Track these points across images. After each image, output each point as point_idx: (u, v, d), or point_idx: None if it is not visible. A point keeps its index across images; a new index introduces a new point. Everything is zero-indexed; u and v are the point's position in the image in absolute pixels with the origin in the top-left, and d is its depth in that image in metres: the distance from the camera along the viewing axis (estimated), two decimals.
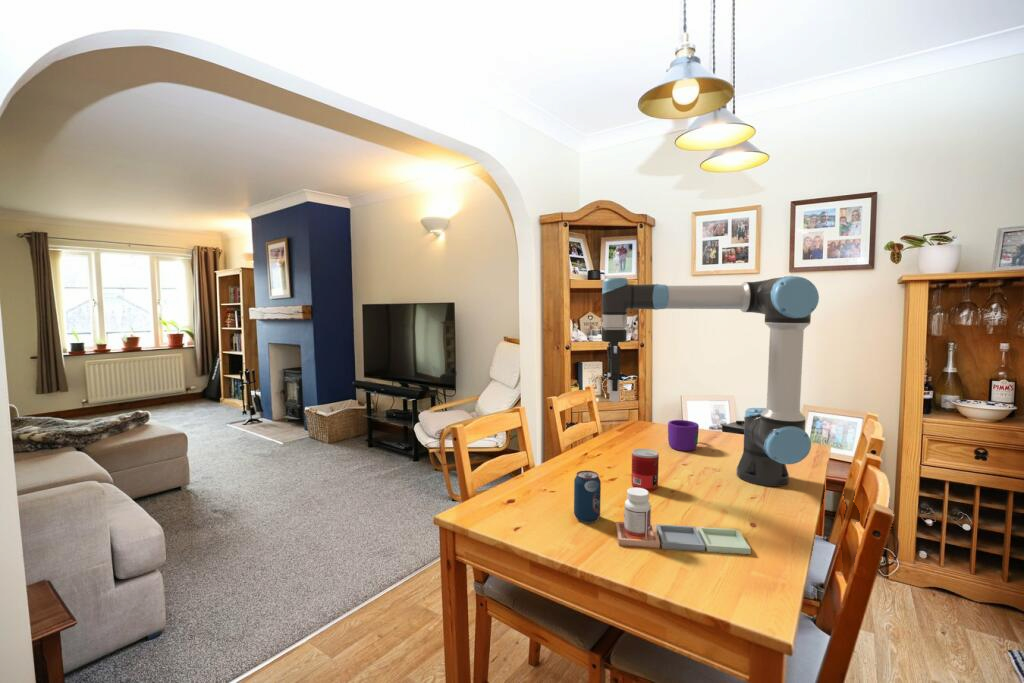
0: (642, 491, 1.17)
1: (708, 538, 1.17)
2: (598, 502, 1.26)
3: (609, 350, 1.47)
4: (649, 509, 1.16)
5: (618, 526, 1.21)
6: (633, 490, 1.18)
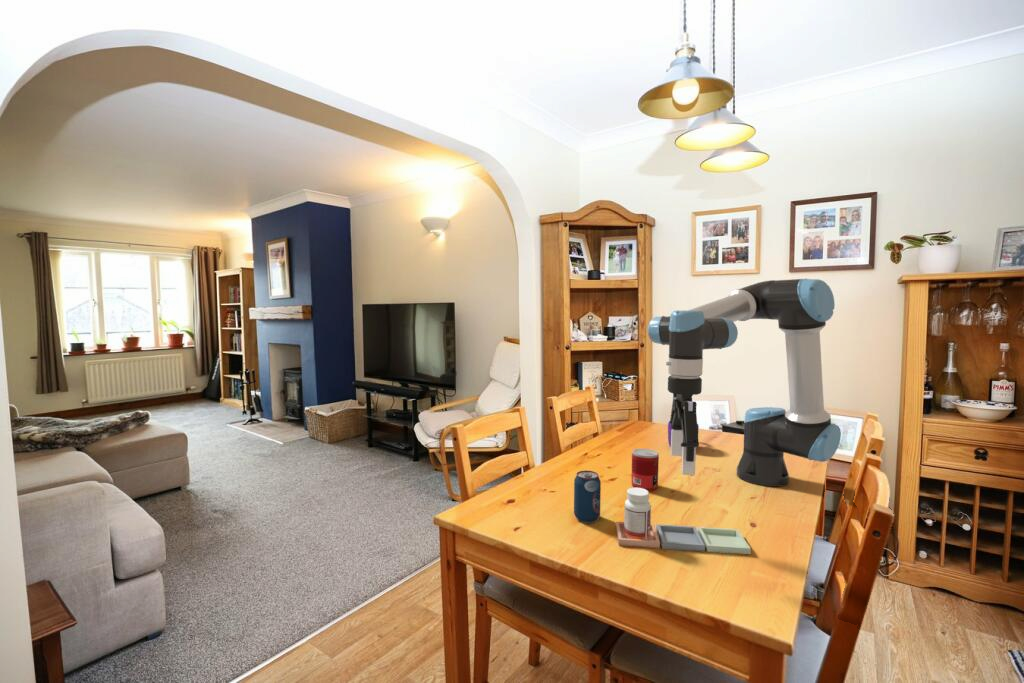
0: (642, 491, 1.17)
1: (708, 538, 1.17)
2: (598, 502, 1.26)
3: (679, 405, 1.12)
4: (649, 509, 1.16)
5: (618, 526, 1.21)
6: (633, 490, 1.18)
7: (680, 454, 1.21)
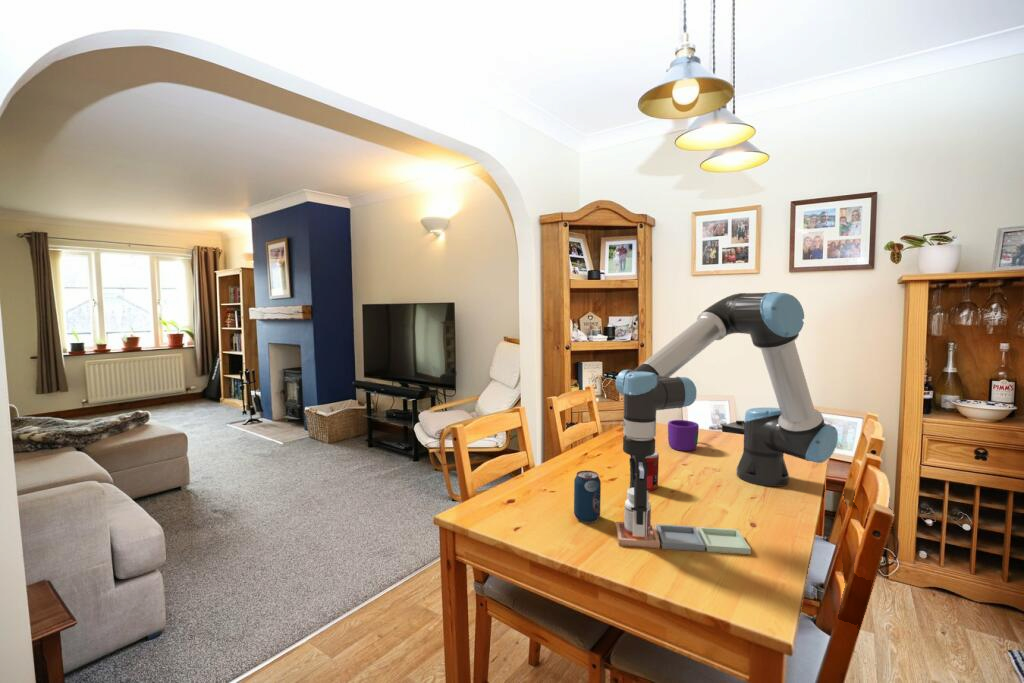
0: None
1: (708, 538, 1.17)
2: (598, 502, 1.26)
3: (633, 466, 1.15)
4: (649, 509, 1.16)
5: (618, 526, 1.21)
6: (633, 490, 1.18)
7: None
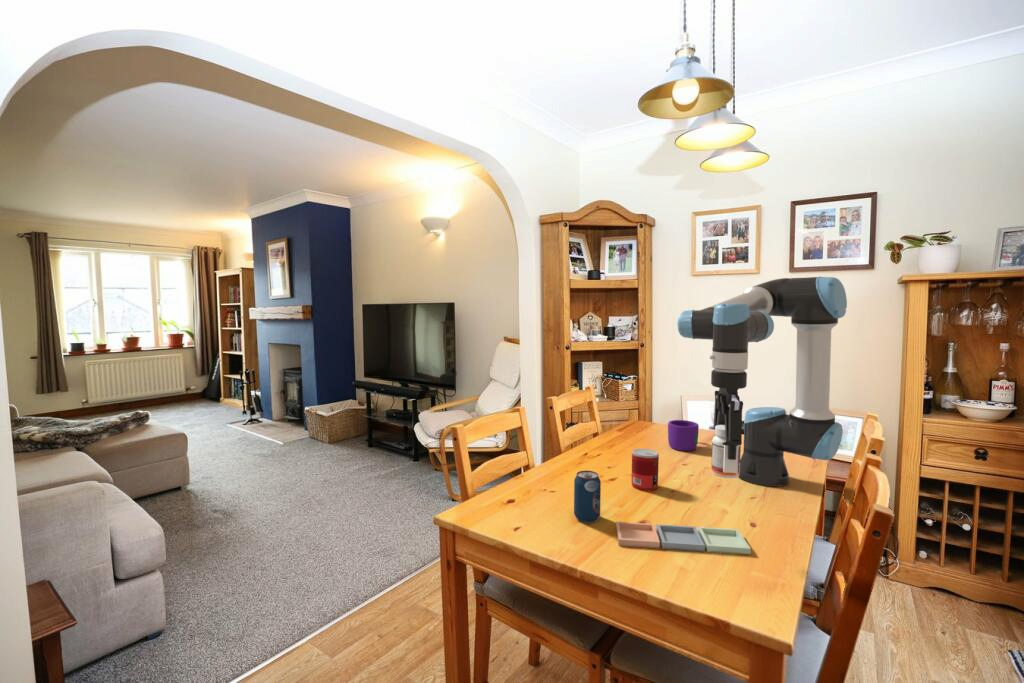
0: None
1: (708, 538, 1.17)
2: (598, 502, 1.26)
3: (724, 400, 1.11)
4: (740, 445, 1.11)
5: (618, 526, 1.21)
6: (721, 426, 1.14)
7: None
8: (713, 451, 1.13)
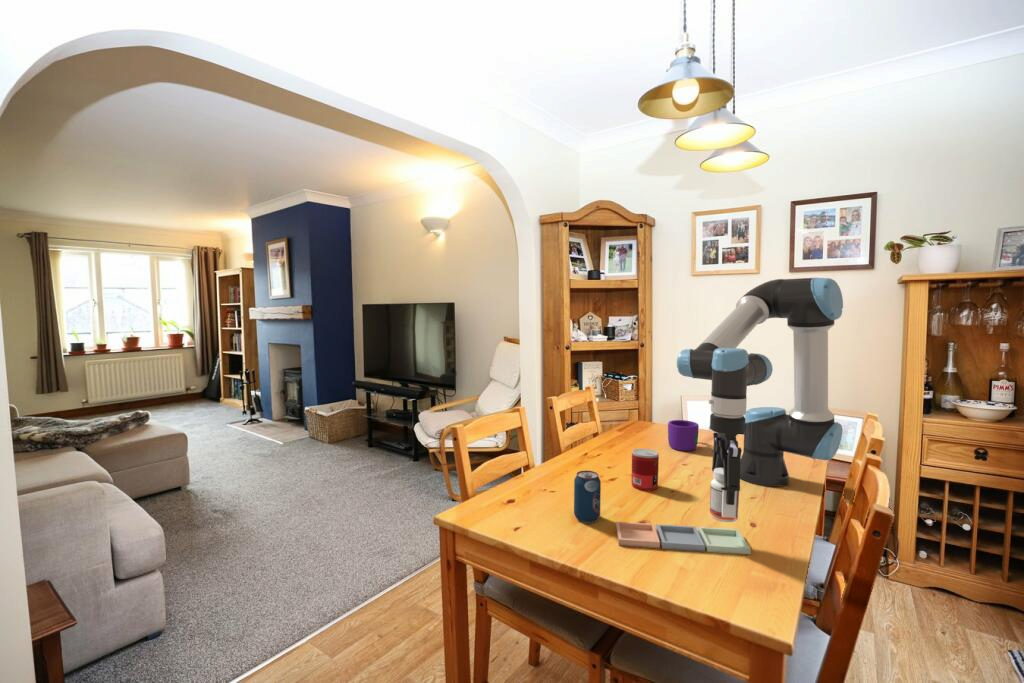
0: None
1: (708, 538, 1.17)
2: (598, 502, 1.26)
3: (722, 445, 1.11)
4: None
5: (618, 526, 1.21)
6: (720, 470, 1.14)
7: None
8: (711, 494, 1.14)
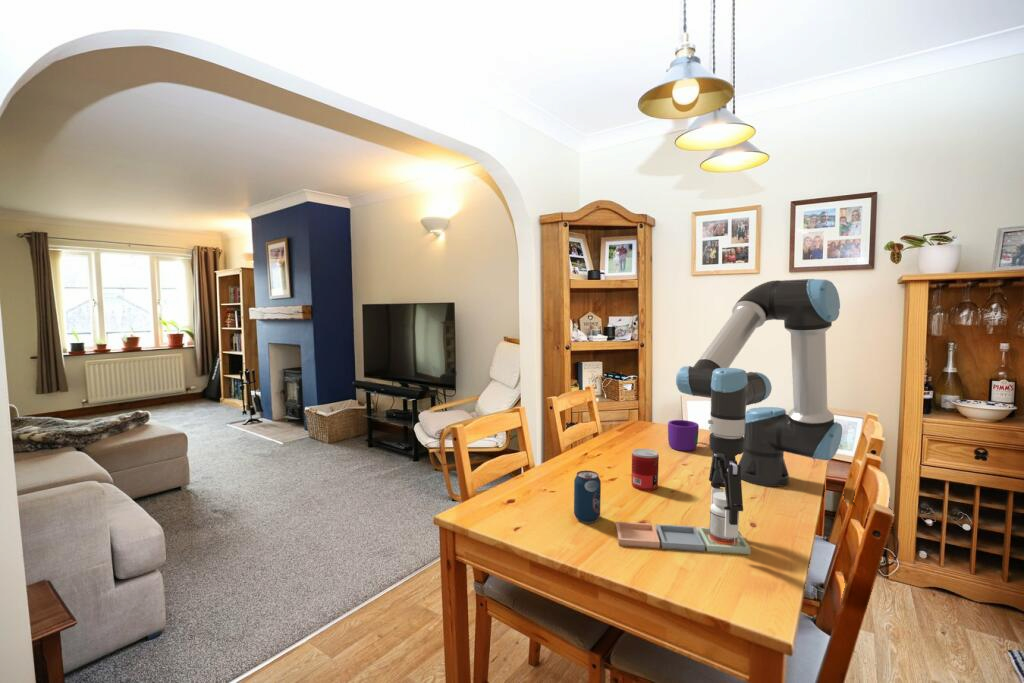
0: None
1: (708, 538, 1.17)
2: (598, 502, 1.26)
3: (722, 464, 1.12)
4: None
5: (618, 526, 1.21)
6: (719, 495, 1.15)
7: None
8: (711, 519, 1.15)
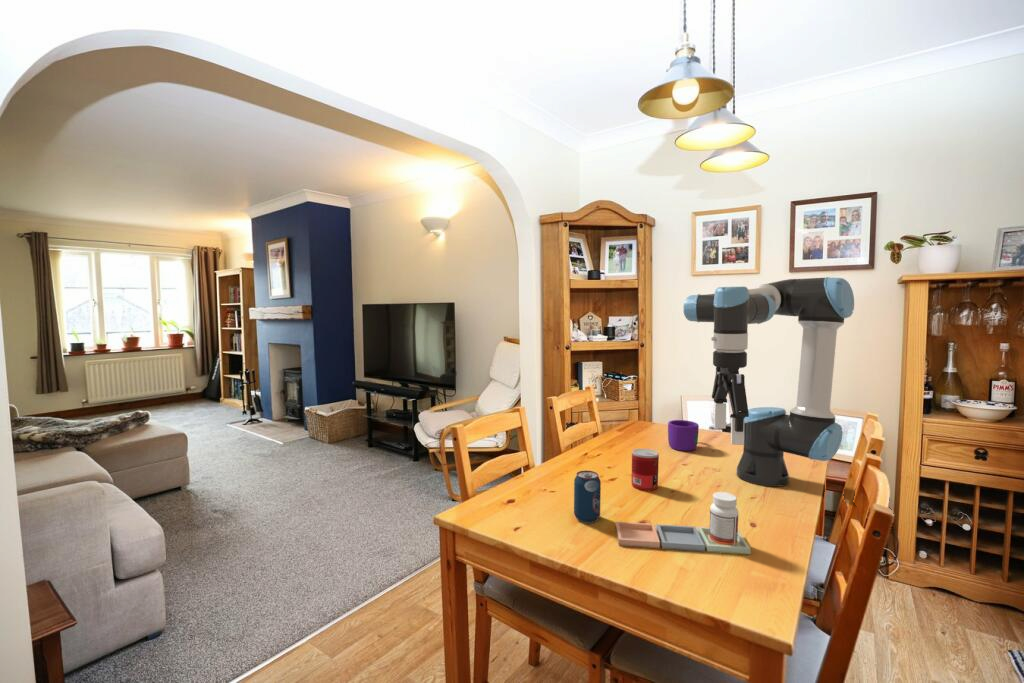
0: (729, 495, 1.15)
1: (708, 538, 1.17)
2: (598, 502, 1.26)
3: (726, 378, 1.16)
4: (737, 514, 1.13)
5: (618, 526, 1.21)
6: (719, 495, 1.15)
7: (723, 427, 1.25)
8: (711, 519, 1.15)
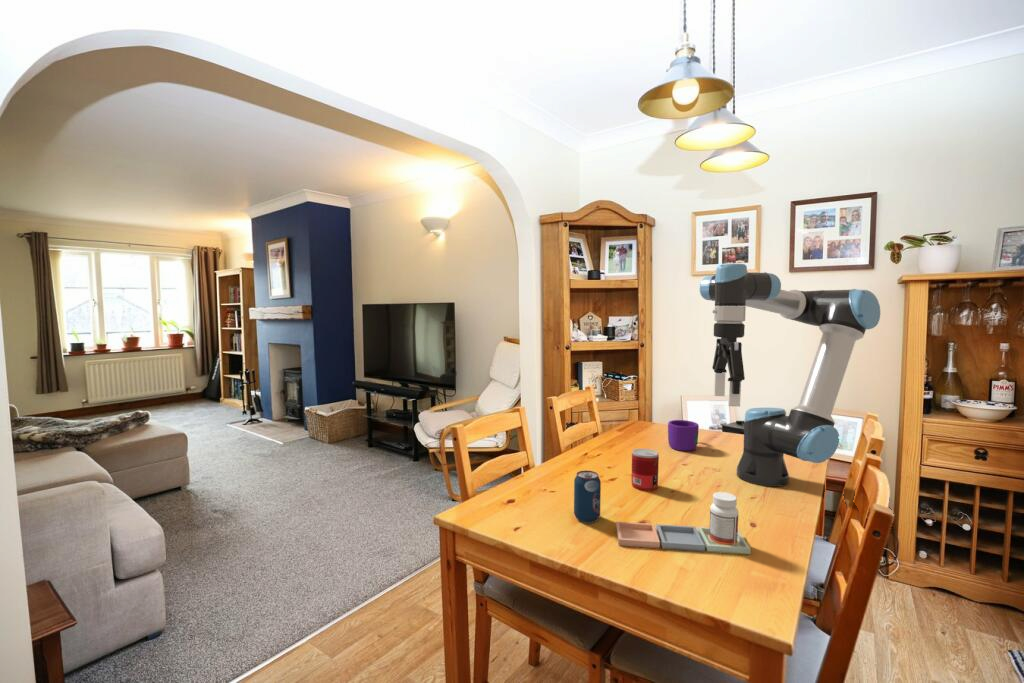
0: (729, 495, 1.15)
1: (708, 538, 1.17)
2: (598, 502, 1.26)
3: (725, 347, 1.28)
4: (737, 514, 1.13)
5: (618, 526, 1.21)
6: (719, 495, 1.15)
7: (722, 394, 1.37)
8: (711, 519, 1.15)
